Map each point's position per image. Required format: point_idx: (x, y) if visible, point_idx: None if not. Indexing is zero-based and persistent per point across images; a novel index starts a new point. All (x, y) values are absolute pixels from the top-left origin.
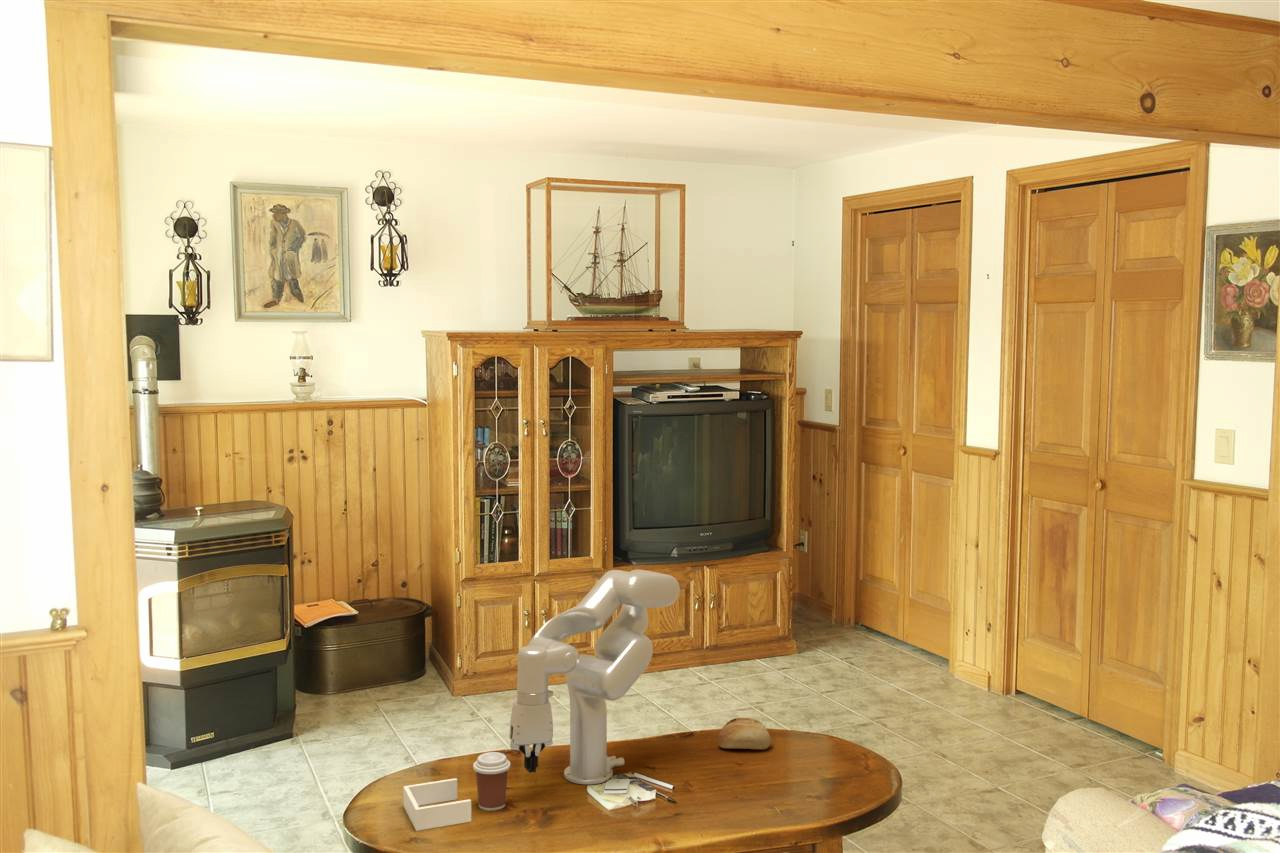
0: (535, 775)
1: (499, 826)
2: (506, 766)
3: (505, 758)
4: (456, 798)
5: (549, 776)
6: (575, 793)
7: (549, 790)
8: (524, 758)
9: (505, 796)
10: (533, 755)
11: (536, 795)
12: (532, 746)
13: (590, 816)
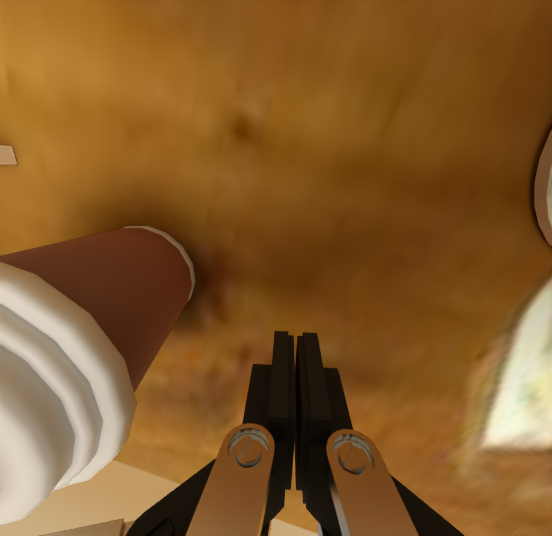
0: (435, 18)
1: (148, 406)
2: (84, 472)
3: (38, 503)
4: (9, 164)
5: (493, 71)
6: (472, 309)
7: (398, 240)
8: (245, 410)
9: (178, 316)
10: (306, 488)
11: (328, 263)
12: (339, 503)
13: (407, 456)
